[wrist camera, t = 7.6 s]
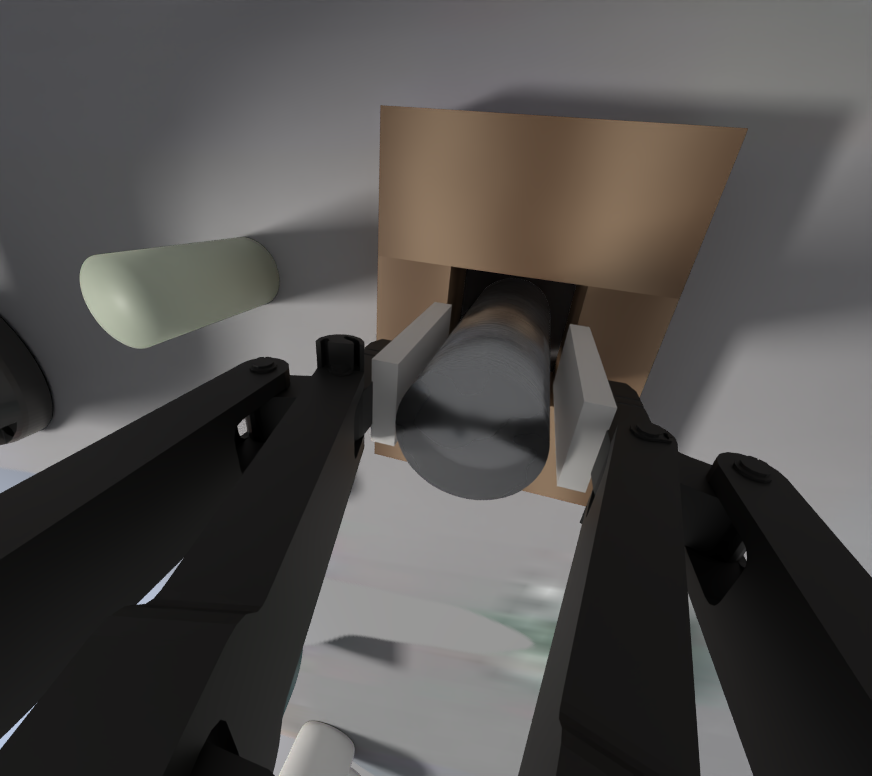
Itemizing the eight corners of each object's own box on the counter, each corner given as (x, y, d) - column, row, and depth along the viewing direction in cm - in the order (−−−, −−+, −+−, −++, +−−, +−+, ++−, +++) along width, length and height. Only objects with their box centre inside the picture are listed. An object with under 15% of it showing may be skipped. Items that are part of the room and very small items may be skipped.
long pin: (469, 343, 21) (392, 478, 11) (479, 271, 19) (398, 352, 9) (540, 356, 20) (530, 516, 10) (558, 283, 19) (569, 386, 8)
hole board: (398, 417, 25) (374, 453, 21) (414, 124, 17) (380, 105, 14) (587, 460, 22) (594, 508, 19) (701, 145, 15) (748, 128, 11)
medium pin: (227, 299, 24) (98, 339, 17) (216, 233, 22) (65, 248, 15) (282, 309, 23) (170, 355, 16) (275, 241, 21) (145, 261, 14)
